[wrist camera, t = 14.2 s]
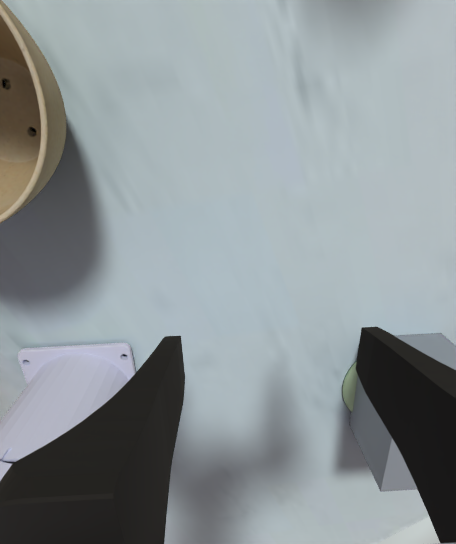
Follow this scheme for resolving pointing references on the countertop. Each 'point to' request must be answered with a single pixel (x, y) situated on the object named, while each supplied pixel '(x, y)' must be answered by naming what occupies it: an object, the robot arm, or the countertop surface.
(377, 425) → the tall grey box
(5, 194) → the flower pot
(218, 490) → the countertop surface
